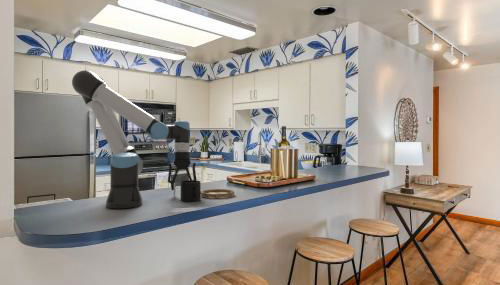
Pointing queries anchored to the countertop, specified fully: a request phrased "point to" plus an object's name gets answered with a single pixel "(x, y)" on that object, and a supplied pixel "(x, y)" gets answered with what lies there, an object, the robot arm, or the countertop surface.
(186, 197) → the mug
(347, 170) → the countertop surface
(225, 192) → the tray
